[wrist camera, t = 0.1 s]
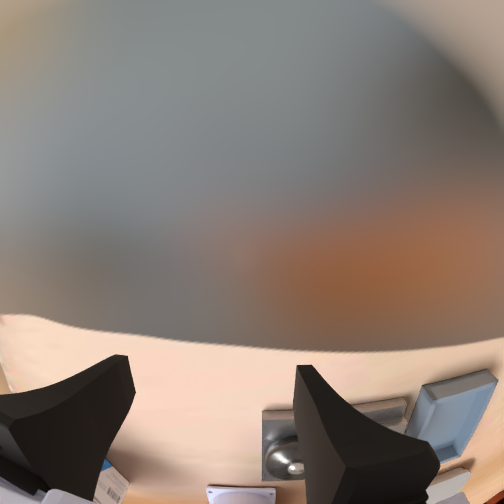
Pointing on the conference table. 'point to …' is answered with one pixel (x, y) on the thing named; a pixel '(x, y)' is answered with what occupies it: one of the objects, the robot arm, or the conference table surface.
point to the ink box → (110, 486)
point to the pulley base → (288, 424)
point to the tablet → (447, 484)
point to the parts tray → (451, 412)
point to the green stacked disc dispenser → (497, 499)
